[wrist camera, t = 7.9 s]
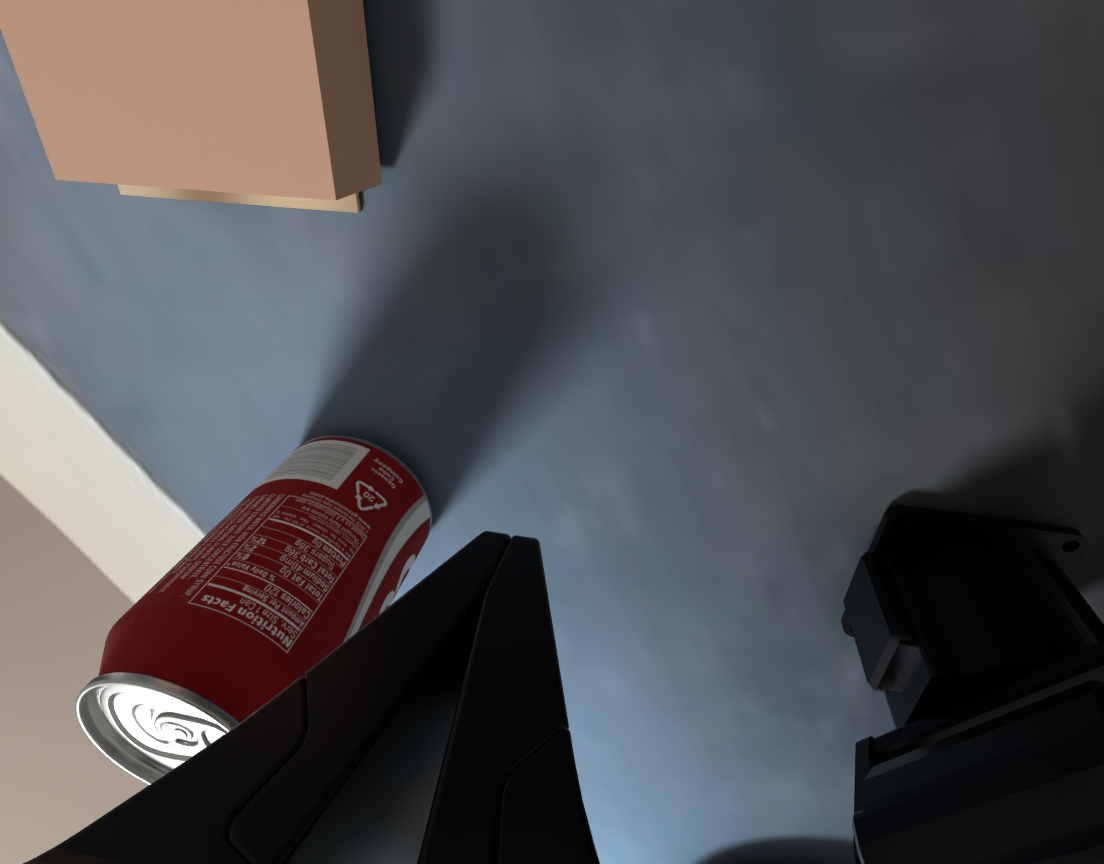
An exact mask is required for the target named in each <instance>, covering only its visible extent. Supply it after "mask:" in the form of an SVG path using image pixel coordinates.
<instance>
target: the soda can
mask: <svg viewBox="0 0 1104 864" xmlns="http://www.w3.org/2000/svg"><path fill="white" fill-rule="evenodd" d="M431 523H432V512H431V506H430V502H429V499H428V496H427V494H426V492H425V490H424V488H423V486H422V484H421V483H420V481H419V480H418V478H417V477H416V476H415V474H414V473H413V472H412V471H411V470H410V469H409V467H408V466H407V465H406V464H404V463H403V462H402V461H401V460H400V459H399V458H397V457H396V456H395V455H393V454H392V453H390V452H389V451H387V450H386V449H384V448H382V447H380V446H378V445H376V444H374V443H371V442H369V441H366V440H363V439H360V438H356V437H351V436H344V435H327V436H321V437H317V438H314V439H311V440H309V441H307V442H305V443H303V444H302V445H300V446H299V447H298V448H296V449H295V450H294V451H293V452H292V453H291V454H290V455H289V456H288V457H287V458H286V459H285V460H284V461H283V462H282V463H281V464H280V465H279V466H278V467H277V468H276V469H275V470H274V471H273V472H272V473H271V474H269V475H268V476H267V477H266V478H265V479H264V480H263V481H262V482H261V483H260V484H259V485H258V486H257V487H256V488H255V489H254V490H253V491H252V492H251V493H250V494H249V495H248V496H247V497H246V498H245V499H244V500H243V501H241V502H240V503H239V504H238V505H237V506H236V507H235V508H234V509H233V510H232V511H231V512H230V513H229V514H228V515H227V516H226V517H225V518H224V519H223V520H222V521H221V522H220V523H219V524H218V525H217V526H216V527H214V528H213V529H212V530H211V531H210V532H209V533H208V534H207V535H206V536H205V537H204V538H203V539H202V540H201V541H200V542H199V543H198V544H197V545H196V546H195V547H194V548H193V549H192V550H191V551H190V552H189V553H188V554H186V555H185V556H184V557H183V558H182V559H181V560H180V561H179V562H178V563H177V564H176V565H175V566H174V567H173V568H172V569H171V570H170V571H169V572H168V573H167V574H166V575H165V576H164V577H163V578H162V579H161V580H159V581H158V582H157V583H156V584H155V585H154V586H153V587H152V588H151V589H150V590H149V591H148V592H147V593H146V594H145V595H144V596H143V597H142V598H141V599H140V600H139V601H138V602H137V603H136V604H135V605H134V606H133V607H132V608H130V609H129V611H127V612H126V613H125V614H124V615H123V616H122V617H121V618H120V619H119V620H118V621H117V622H116V623H115V624H114V626H113V627H112V629H111V630H110V632H109V634H108V636H107V640H106V642H105V647H104V652H103V657H102V662H101V667H100V672H99V676H98V677H96V678H94V679H93V680H91V681H90V682H89V683H88V684H87V685H86V686H85V687H84V688H83V689H82V690H81V691H80V693H79V695H78V696H77V699H76V703H75V710H76V715H77V718H78V721H79V723H80V725H81V727H82V729H83V730H84V732H85V733H86V735H87V736H88V737H89V739H90V740H91V741H92V742H93V743H94V745H96V747H97V748H98V749H99V750H100V751H101V752H102V753H103V754H105V755H106V756H107V757H108V758H109V759H110V760H112V761H113V762H114V763H115V764H117V765H118V766H119V767H121V768H122V769H124V770H125V771H127V772H128V773H130V774H131V775H133V776H135V777H136V778H138V779H140V780H141V781H143V782H145V783H147V784H149V785H150V784H152V783H153V782H155V781H156V780H158V779H159V778H161V777H162V776H164V775H165V774H167V773H168V772H170V771H171V770H173V769H174V768H176V767H177V766H179V765H180V764H182V763H183V762H185V761H186V760H188V759H189V758H191V757H192V756H194V755H195V754H197V753H198V752H199V751H201V750H202V749H204V748H205V747H207V746H208V745H209V744H211V743H212V742H214V741H215V740H217V739H218V738H220V737H221V736H222V735H224V734H225V733H227V732H228V731H230V730H231V729H233V728H234V727H235V726H237V725H238V724H240V723H241V722H242V721H244V720H245V719H246V718H247V717H249V716H250V715H251V714H253V713H254V712H255V711H257V710H258V709H259V708H261V707H262V706H263V705H265V704H266V703H267V702H269V701H270V700H271V699H273V698H274V697H275V696H277V695H278V694H279V693H280V692H282V691H283V690H284V689H285V688H287V687H288V686H289V685H290V684H292V683H293V682H294V681H295V680H297V679H298V678H299V677H304V678H305V673H306V672H307V671H308V670H310V669H311V668H312V667H313V666H315V665H316V664H317V663H318V662H320V661H321V660H322V659H323V658H325V657H326V656H327V655H329V654H330V653H331V652H332V651H334V650H335V649H336V648H337V647H339V646H340V645H341V644H342V643H344V642H345V641H346V640H347V639H349V638H350V637H351V636H352V635H354V634H355V633H356V632H358V631H359V630H360V629H361V628H363V627H364V626H365V625H366V624H368V623H369V622H370V621H371V620H373V619H374V618H375V617H376V616H378V615H379V614H380V613H381V612H383V611H384V610H385V609H387V608H388V607H389V606H390V604H391V602H392V601H393V599H394V597H395V595H396V593H397V592H398V590H399V588H400V586H401V585H402V583H403V581H404V579H405V577H406V576H407V574H408V572H409V570H410V568H411V567H412V565H413V563H414V561H415V559H416V558H417V556H418V554H419V552H420V550H421V549H422V547H423V545H424V543H425V541H426V540H427V537H428V535H429V533H430V529H431Z"/></svg>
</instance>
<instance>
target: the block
mask: <svg viewBox="0 0 1104 864" xmlns="http://www.w3.org/2000/svg"><path fill="white" fill-rule="evenodd" d="M0 28H1V31H2V34H3V37H4V39H5V42H6V45H7V48H8V50H9V53H10V56H11V58H12V61H13V64H14V67H15V69H16V72H17V75H18V78H19V80H20V83H21V86H22V89H23V91H24V94H25V97H26V100H27V102H28V105H29V108H30V110H31V113H32V116H33V119H34V121H35V124H36V127H37V130H38V132H39V135H40V138H41V141H42V143H43V146H44V149H45V152H46V154H47V157H48V160H49V162H50V165H51V168H52V171H53V173H54V176H55V179H56V180H66V181H79V182H93V183H106V184H120V185H133V186H147V187H160V188H174V189H187V190H201V191H214V192H228V193H241V194H255V195H269V196H282V197H296V198H309V199H323V200H339V199H342V198H344V197H347V196H350V195H353V194H355V193H358V192H361V191H364V190H366V189H369V188H372V187H375V186H377V185H380V184H382V178H381V168H380V159H379V149H378V140H377V130H376V121H375V111H374V102H373V93H372V83H371V74H370V64H369V55H368V45H367V36H366V26H365V17H364V7H363V0H0Z"/></svg>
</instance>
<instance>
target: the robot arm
mask: <svg viewBox="0 0 1104 864" xmlns="http://www.w3.org/2000/svg"><path fill="white" fill-rule="evenodd" d="M898 518H905V519H904V520H903V521H900V522H895V520H896V519H898ZM1068 541H1071V542H1070V543H1068V544H1064V543H1066V542H1068ZM1087 546H1088V542H1087V540H1086V538H1085V537H1084V536H1083V535H1082V534H1081V533H1080V532H1079V531H1078V530H1077V529H1073V528H1068V527H1061V526H1053V525H1046V524H1038V523H1031V522H1023V521H1016V520H1008V519H1001V518H993V517H986V516H978V515H971V514H963V513H956V512H948V511H941V510H933V509H926V508H918V507H911V506H903V505H899V506H894V507H891V508H889V509H888V510H886V512H885V513H884V515H883V517H882V520H881V522H880V525H879V527H878V530H877V532H876V535H875V537H874V540H873V542H872V545H871V547H870V550H869V552H866V553H865V554H864V555H862V556H861V558H860V560H859V563H858V565H857V568H856V570H855V573H854V576H853V578H852V581H851V583H850V586H849V588H848V591H847V593H846V596H845V598H844V605H845V608H846V609H845V612H844V614H843V617H842V620H841V623H842V627H843V630H844V632H845V633H846V634H847V635H849V636H852V637H854V638H855V642H856V645H857V648H858V652H859V655H860V659H861V662H862V665H863V669H864V672H865V675H866V679H867V682H868V683H869V685H870V686H871V687H872V688H873V689H874V690H877V691H883V692H884V693H885V696H886V699H887V702H888V706H889V709H890V712H891V715H892V718H893V721H894V724H895V727H896V729H895V730H892V731H890V732H888V733H885V734H883V735H881V736H878V737H876V738H873V737H872V736H870V737H868V738H865V739H863V740H861V741H858V742H856V752H855V796H854V815H853V824H852V827H853V832H854V840H853V844H854V858H855V862H856V864H1104V624H1103V623H1102V621H1101V620H1100V619H1099V618H1098V616H1097V615H1096V614H1095V612H1094V611H1093V610H1092V608H1091V607H1090V606H1089V604H1088V603H1087V602H1086V600H1085V599H1084V598H1083V596H1082V595H1081V594H1080V592H1079V591H1078V590H1077V588H1076V587H1075V586H1074V585H1073V583H1072V582H1071V581H1070V579H1069V578H1068V577H1069V575H1070V574H1071V572H1072V571H1073V569H1074V568H1075V566H1076V564H1077V563H1078V561H1079V560H1080V558H1081V557H1082V555H1083V554H1084V552H1085V551H1086V549H1087ZM568 729H569V724H568V718H567V711H566V705H565V699H564V693H563V686H562V680H561V674H560V668H559V661H558V655H557V649H556V643H555V636H554V630H553V624H552V618H551V611H550V605H549V599H548V593H547V587H546V580H545V574H544V568H543V562H542V555H541V549H540V543H539V541H538V540H537V539H536V538H530V537H523V536H513V537H512V538H511V537H510V536H509V535H508V534H504V533H497V532H490V531H485V532H483V533H481V534H480V535H478V536H477V537H476V538H475V539H473V540H472V541H471V542H470V543H468V544H467V545H466V546H465V547H463V548H462V549H461V550H460V551H458V552H457V553H456V554H455V555H453V556H452V557H451V558H450V559H448V560H447V561H446V562H444V563H443V564H442V565H441V566H439V567H438V568H437V569H436V570H434V571H433V572H432V573H431V574H429V575H428V576H427V577H426V578H424V579H423V580H422V581H421V582H419V583H418V584H417V585H415V586H414V587H413V588H412V589H410V590H409V591H408V592H407V593H405V594H404V595H403V596H402V597H400V598H399V599H398V600H397V601H395V602H394V603H393V604H392V605H390V606H389V607H388V608H387V609H385V610H384V611H383V612H381V613H380V614H379V615H378V616H376V617H375V618H374V619H373V620H371V621H370V622H369V623H368V624H366V625H365V626H364V627H363V628H361V629H360V630H359V631H358V632H356V633H355V634H354V635H352V636H351V637H350V638H349V639H347V640H346V641H345V642H344V643H342V644H341V645H340V646H339V647H337V648H336V649H335V650H334V651H332V652H331V653H330V654H329V655H327V656H326V657H325V658H323V659H322V660H321V661H320V662H318V663H317V664H316V665H315V666H313V667H312V668H311V669H310V670H308V671H307V672H306V673H305V678H304V677H299V678H298V679H297V680H295V681H294V682H293V683H292V684H290V685H289V686H288V687H287V688H285V689H284V690H283V691H282V692H280V693H279V694H278V695H277V696H275V697H274V698H273V699H271V700H270V701H269V702H267V703H266V704H265V705H263V706H262V707H261V708H259V709H258V710H257V711H255V712H254V713H253V714H251V715H250V716H249V717H247V718H246V719H245V720H244V721H242V722H241V723H240V724H238V725H237V726H235V727H234V728H233V729H231V730H230V731H228V732H227V733H225V734H224V735H222V736H221V737H220V738H218V739H217V740H215V741H214V742H212V743H211V744H209V745H208V746H207V747H205V748H204V749H202V750H201V751H199V752H198V753H197V754H195V755H194V756H192V757H191V758H189V759H188V760H186V761H185V762H183V763H182V764H180V765H179V766H177V767H176V768H174V769H173V770H171V771H170V772H168V773H167V774H165V775H164V776H162V777H161V778H159V779H158V780H156V781H155V782H153V783H152V784H150V785H149V786H147V787H146V788H144V789H143V790H141V791H140V792H138V793H137V794H135V795H134V796H132V797H131V798H129V799H128V800H126V801H125V802H123V803H122V804H120V805H119V806H117V807H116V808H114V809H113V810H111V811H110V812H108V813H107V814H105V815H104V816H103V817H101V818H99V819H98V820H96V821H95V822H93V823H92V824H90V825H89V826H87V827H86V828H84V829H83V830H81V831H80V832H78V833H77V834H75V835H73V836H72V837H70V838H69V839H67V840H65V841H64V842H62V843H61V844H59V845H57V846H56V847H54V848H52V849H50V850H48V851H47V852H45V853H43V854H41V855H39V856H37V857H36V858H34V859H32V860H30V861H28V862H25V863H23V864H600V863H599V859H598V856H597V853H596V849H595V845H594V842H593V838H592V834H591V831H590V827H589V823H588V819H587V816H586V812H585V808H584V804H583V800H582V795H581V790H580V785H579V780H578V775H577V770H576V765H575V760H574V753H573V747H572V741H571V734H570V731H569V730H568Z"/></svg>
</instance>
